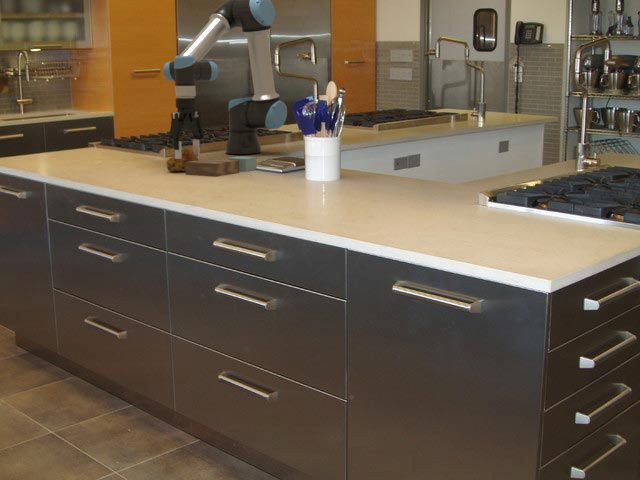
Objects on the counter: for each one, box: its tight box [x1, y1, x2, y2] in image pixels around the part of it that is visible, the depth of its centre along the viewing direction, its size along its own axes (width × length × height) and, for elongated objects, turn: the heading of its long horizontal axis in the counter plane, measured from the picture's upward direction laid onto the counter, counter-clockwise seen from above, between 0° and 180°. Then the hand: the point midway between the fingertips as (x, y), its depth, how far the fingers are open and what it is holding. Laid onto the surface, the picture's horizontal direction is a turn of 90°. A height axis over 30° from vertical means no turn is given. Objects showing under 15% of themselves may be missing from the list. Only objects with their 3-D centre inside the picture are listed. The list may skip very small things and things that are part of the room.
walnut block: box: [185, 158, 241, 178], centre depth 328 cm, size 14×14×5 cm
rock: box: [166, 148, 199, 172], centre depth 336 cm, size 11×8×10 cm
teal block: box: [226, 155, 257, 173], centre depth 339 cm, size 8×8×5 cm
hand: (187, 157), depth 336 cm, fingers closed on rock, 9 cm apart
